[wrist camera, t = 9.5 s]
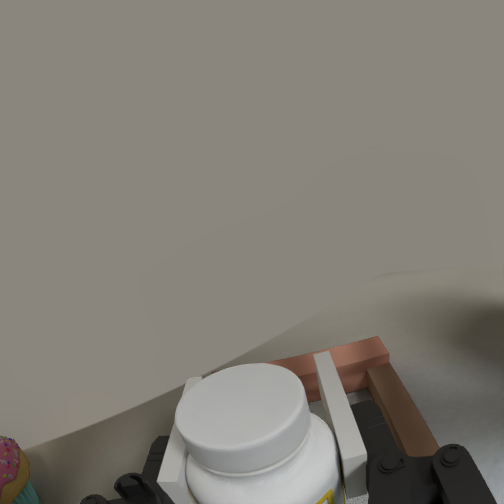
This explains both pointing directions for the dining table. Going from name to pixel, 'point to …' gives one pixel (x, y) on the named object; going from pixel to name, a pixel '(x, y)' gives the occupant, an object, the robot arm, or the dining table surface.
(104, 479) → the dining table surface
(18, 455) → the cupcake
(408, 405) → the walnut channel
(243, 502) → the supplement bottle
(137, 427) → the dining table surface
